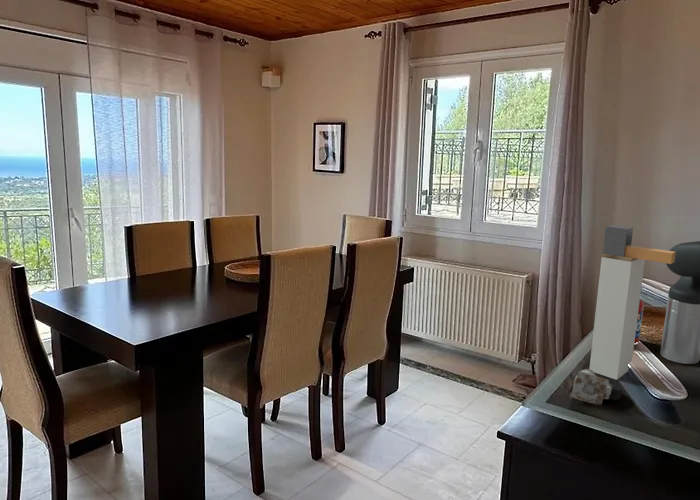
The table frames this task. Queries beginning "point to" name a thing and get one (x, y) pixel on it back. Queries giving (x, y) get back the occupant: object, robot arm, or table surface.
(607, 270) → the plinth
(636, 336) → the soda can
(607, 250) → the grey hammer
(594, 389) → the grey speckled two-tone part
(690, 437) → the table surface
